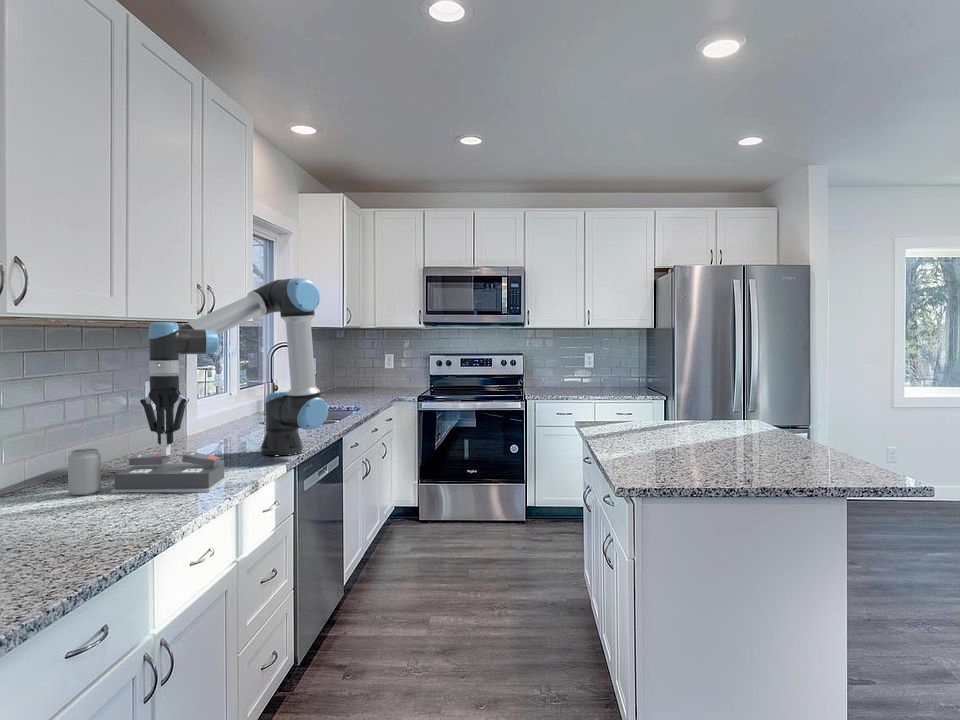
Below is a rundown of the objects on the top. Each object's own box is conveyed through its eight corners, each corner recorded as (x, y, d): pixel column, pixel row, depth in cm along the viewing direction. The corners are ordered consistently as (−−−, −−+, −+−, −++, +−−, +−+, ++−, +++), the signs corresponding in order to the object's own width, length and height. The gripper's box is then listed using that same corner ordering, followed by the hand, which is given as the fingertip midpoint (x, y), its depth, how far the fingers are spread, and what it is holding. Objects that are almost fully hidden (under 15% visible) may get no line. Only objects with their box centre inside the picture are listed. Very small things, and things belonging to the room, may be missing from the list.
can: (84, 497, 154) (84, 453, 153) (61, 495, 155) (60, 451, 155) (107, 490, 161) (107, 448, 160) (85, 488, 162) (85, 446, 162)
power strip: (137, 479, 173) (137, 462, 173) (227, 479, 176) (227, 461, 176) (111, 493, 158) (110, 473, 158) (209, 492, 161) (209, 473, 161)
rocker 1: (137, 461, 170) (137, 454, 170) (169, 460, 171) (169, 453, 171) (129, 465, 165) (129, 457, 165) (162, 464, 166) (162, 457, 166)
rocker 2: (188, 457, 172) (190, 450, 172) (219, 463, 173) (220, 456, 173) (181, 461, 167) (183, 454, 167) (213, 467, 168) (214, 460, 168)
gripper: (134, 375, 163) (136, 458, 164) (182, 375, 165) (183, 457, 165) (146, 374, 171) (148, 453, 171) (192, 374, 172) (193, 452, 173)
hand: (165, 455), depth 168 cm, fingers closed
